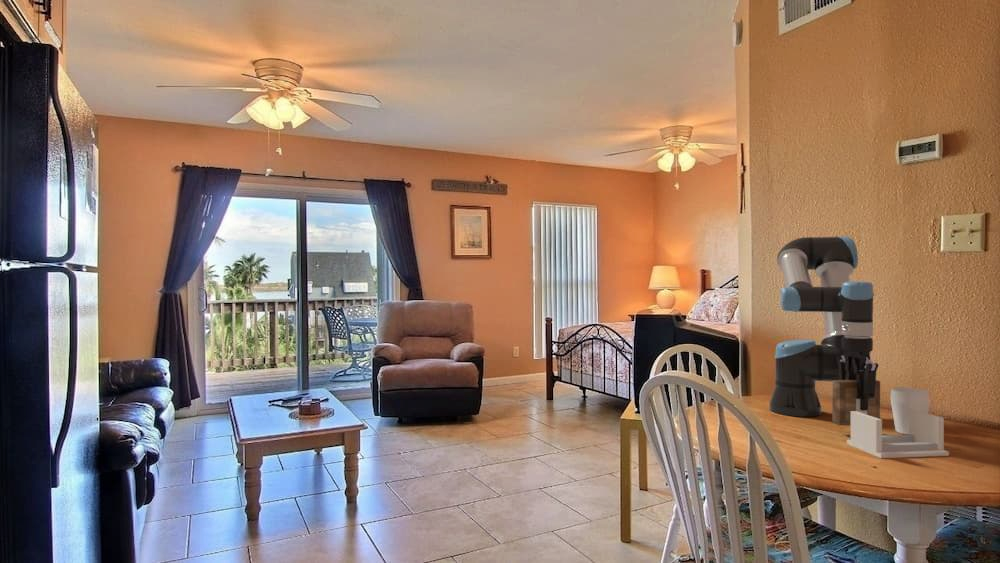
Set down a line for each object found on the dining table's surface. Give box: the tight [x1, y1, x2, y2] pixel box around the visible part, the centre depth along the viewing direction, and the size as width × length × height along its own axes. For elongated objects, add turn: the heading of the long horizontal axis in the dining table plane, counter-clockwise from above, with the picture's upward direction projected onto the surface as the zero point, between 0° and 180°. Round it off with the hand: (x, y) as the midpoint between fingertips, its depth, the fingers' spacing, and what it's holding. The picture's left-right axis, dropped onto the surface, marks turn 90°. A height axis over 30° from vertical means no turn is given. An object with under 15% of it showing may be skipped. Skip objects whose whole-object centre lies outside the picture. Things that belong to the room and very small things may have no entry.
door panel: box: [831, 379, 881, 426], centre depth 160 cm, size 3×12×12 cm, turn 95°
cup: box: [890, 386, 931, 435], centre depth 161 cm, size 9×9×12 cm
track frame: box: [846, 409, 950, 459], centre depth 145 cm, size 12×18×9 cm, turn 95°
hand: (856, 419), depth 160 cm, fingers closed on door panel, 3 cm apart
